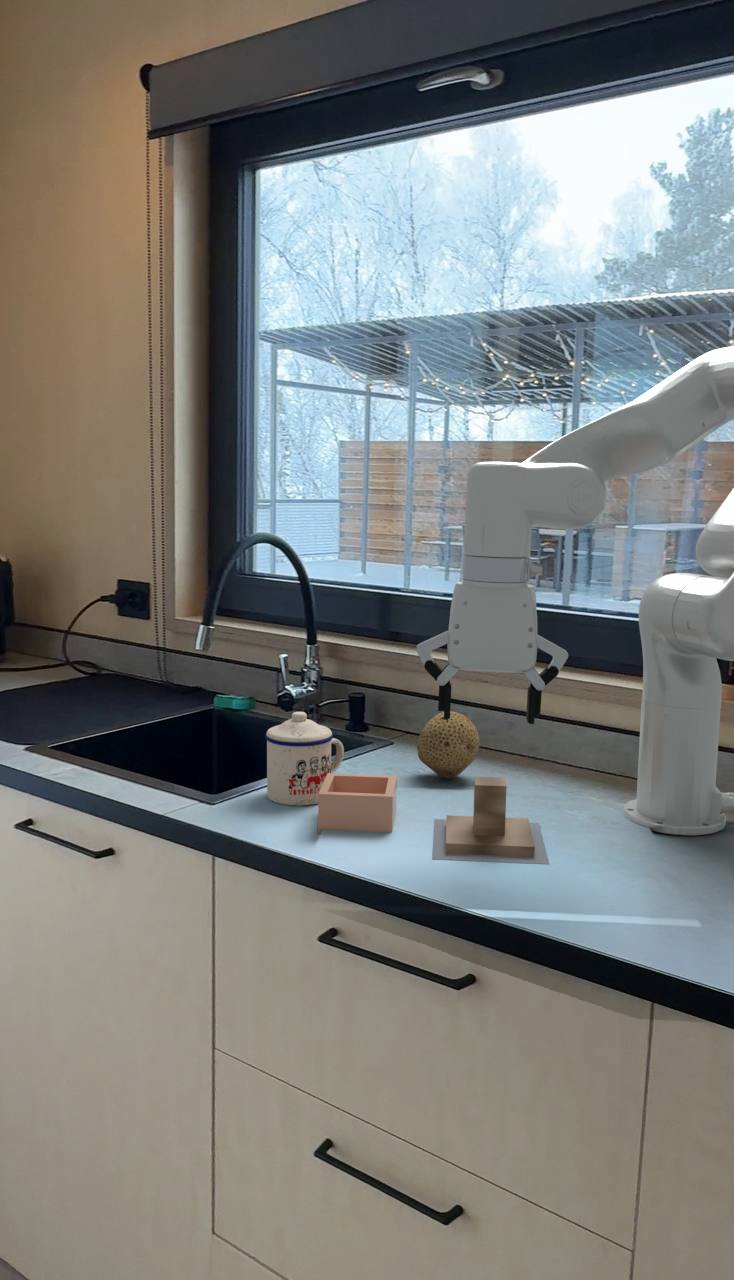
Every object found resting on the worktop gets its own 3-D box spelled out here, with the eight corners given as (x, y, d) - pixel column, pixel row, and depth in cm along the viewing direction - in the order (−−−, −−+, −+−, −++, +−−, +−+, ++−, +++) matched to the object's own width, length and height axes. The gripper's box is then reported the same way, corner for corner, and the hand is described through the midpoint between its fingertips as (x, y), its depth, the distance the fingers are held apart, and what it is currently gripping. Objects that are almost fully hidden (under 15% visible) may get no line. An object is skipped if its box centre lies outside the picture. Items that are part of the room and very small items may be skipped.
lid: (528, 827, 125) (530, 771, 124) (534, 857, 115) (536, 795, 114) (446, 824, 126) (447, 768, 125) (445, 853, 116) (447, 792, 115)
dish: (396, 813, 132) (396, 775, 131) (392, 836, 123) (392, 796, 123) (327, 810, 133) (327, 773, 132) (318, 833, 124) (318, 793, 123)
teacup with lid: (291, 811, 132) (291, 723, 131) (252, 794, 139) (251, 711, 138) (362, 794, 140) (363, 711, 138) (322, 779, 147) (322, 700, 145)
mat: (538, 827, 127) (539, 823, 127) (549, 869, 113) (549, 864, 113) (434, 823, 128) (434, 819, 128) (431, 864, 115) (432, 859, 114)
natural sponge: (481, 788, 143) (483, 719, 142) (417, 787, 144) (419, 718, 142) (475, 771, 152) (477, 705, 151) (415, 769, 152) (417, 704, 151)
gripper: (569, 572, 119) (560, 716, 121) (420, 567, 120) (414, 709, 123) (576, 577, 112) (567, 730, 114) (418, 571, 113) (412, 723, 115)
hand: (488, 719), depth 118 cm, fingers open, 9 cm apart
